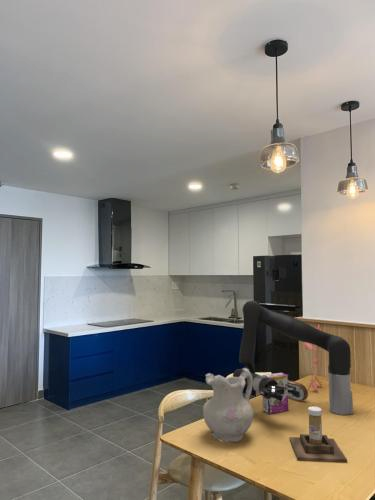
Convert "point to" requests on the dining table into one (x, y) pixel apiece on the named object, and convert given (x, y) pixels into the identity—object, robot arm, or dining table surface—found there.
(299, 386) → the grey brown oval slab
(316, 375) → the pink branching piece
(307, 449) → the walnut stand
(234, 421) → the ceramic pitcher
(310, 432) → the spice jar
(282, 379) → the candy bar box
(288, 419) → the dining table surface
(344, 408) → the robot arm
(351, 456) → the dining table surface
